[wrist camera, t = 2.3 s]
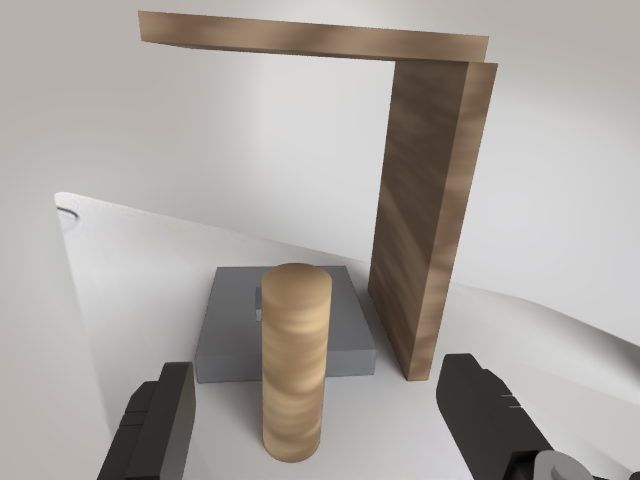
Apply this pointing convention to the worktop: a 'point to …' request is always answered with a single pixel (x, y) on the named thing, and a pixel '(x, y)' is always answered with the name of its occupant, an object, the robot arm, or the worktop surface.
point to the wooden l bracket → (390, 150)
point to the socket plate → (246, 333)
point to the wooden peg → (294, 358)
